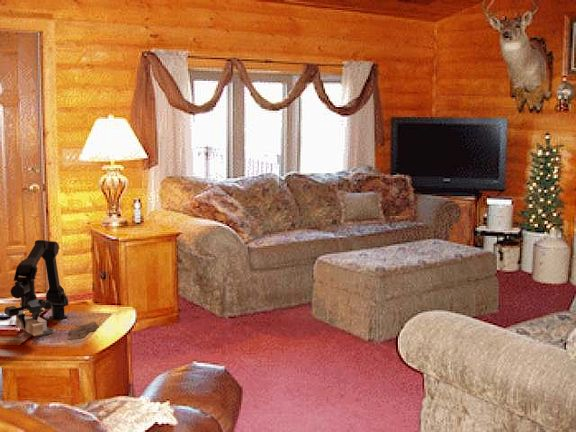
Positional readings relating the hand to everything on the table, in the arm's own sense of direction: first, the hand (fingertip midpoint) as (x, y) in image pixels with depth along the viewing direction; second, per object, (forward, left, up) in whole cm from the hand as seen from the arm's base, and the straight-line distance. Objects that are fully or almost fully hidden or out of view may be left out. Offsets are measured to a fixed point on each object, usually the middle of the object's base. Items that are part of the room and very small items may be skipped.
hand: (29, 327), depth 308 cm
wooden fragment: (+2, +24, -7) cm, 25 cm away
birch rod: (0, 0, -1) cm, 1 cm away
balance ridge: (-9, +8, -6) cm, 14 cm away
